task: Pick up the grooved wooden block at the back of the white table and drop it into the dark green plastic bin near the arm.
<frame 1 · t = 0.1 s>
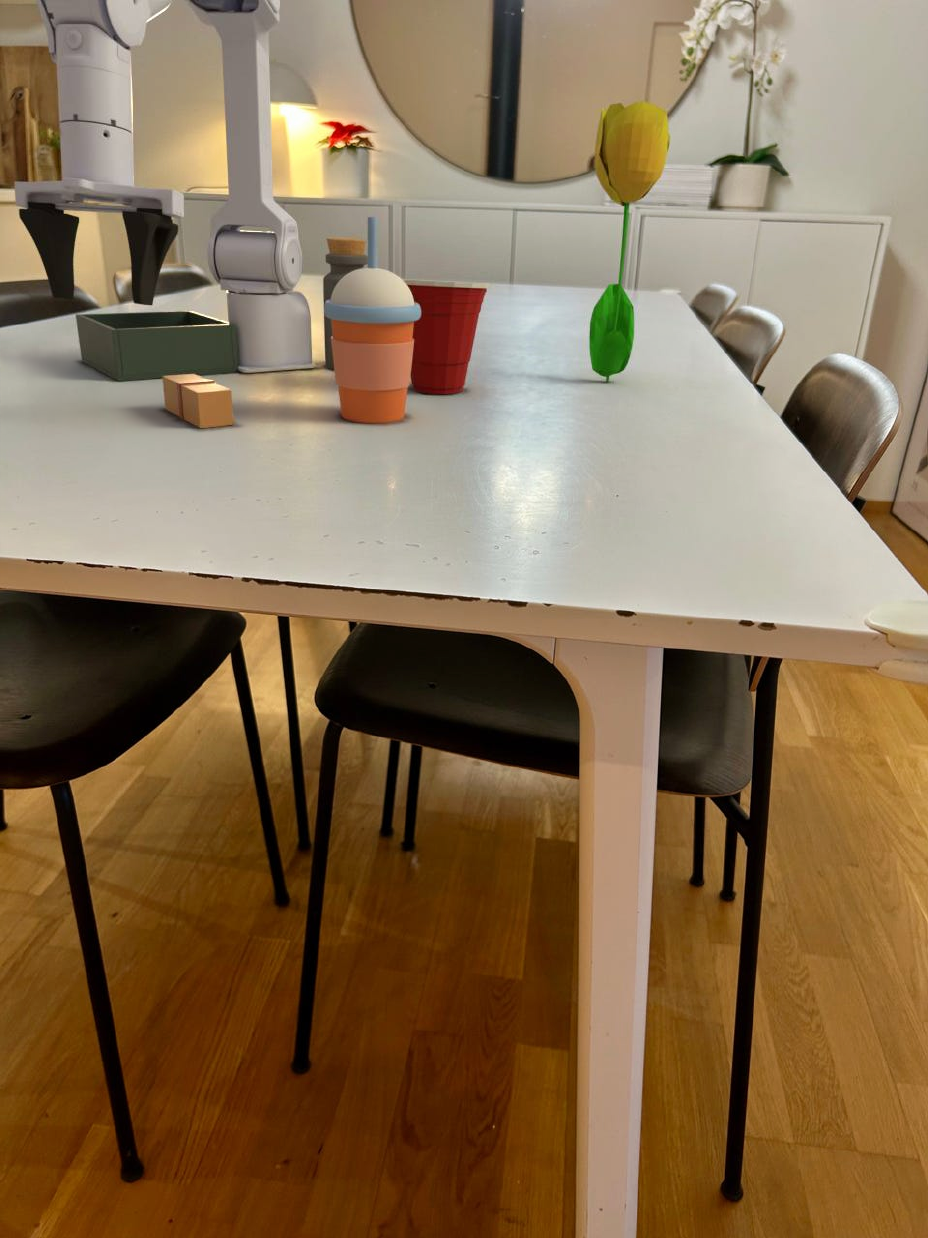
hand: (102, 301, 79), 10 cm above the table, tool pointing down, fingers open, 7 cm apart
flower: (607, 383, 111), on the table
bin: (159, 366, 109), on the table
bottle: (348, 368, 114), on the table
grooved wooden block: (198, 416, 86), on the table
cup with straw: (373, 419, 89), on the table
plastic cup: (437, 391, 103), on the table
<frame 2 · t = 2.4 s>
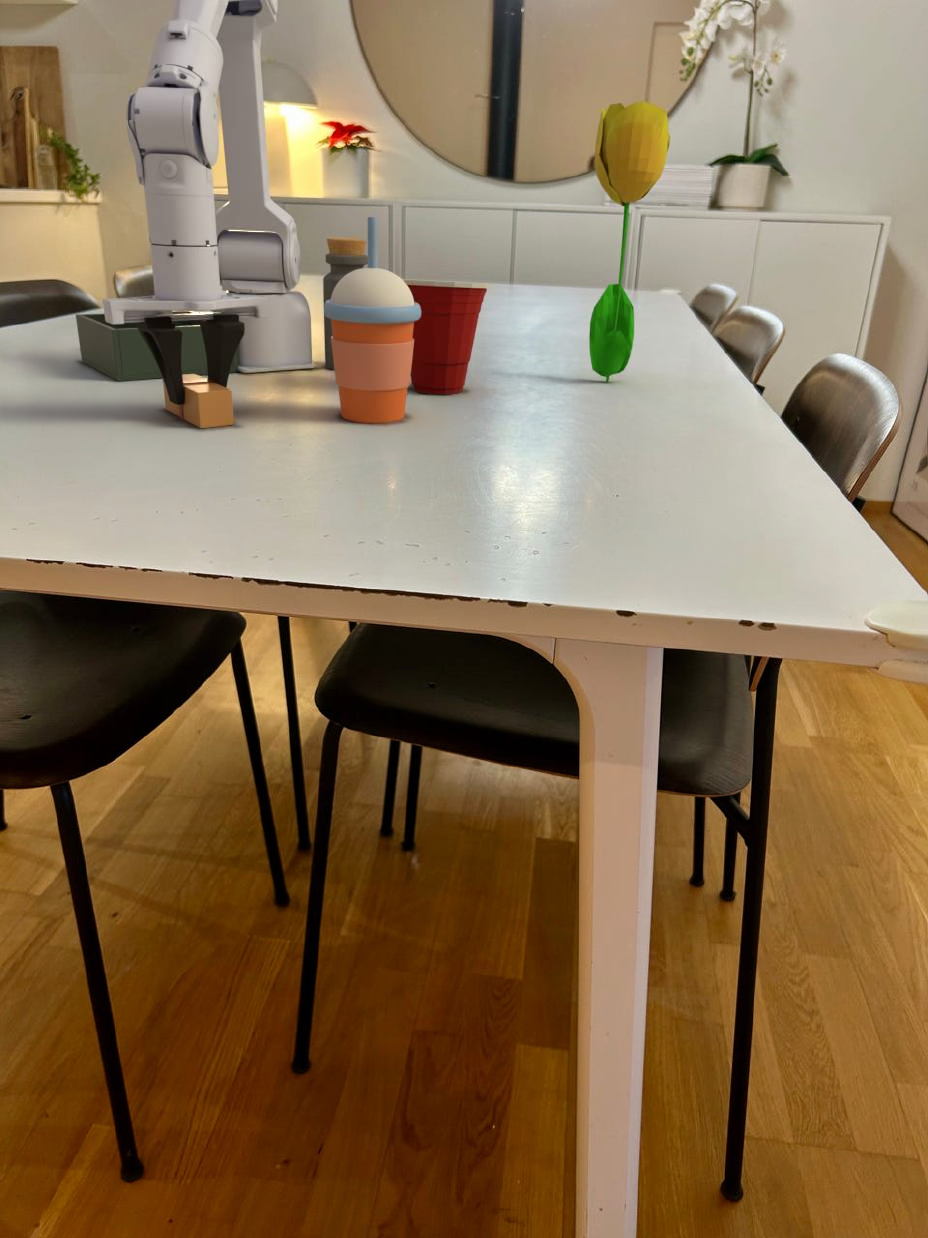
hand: (197, 400, 85), 2 cm above the table, tool pointing down, fingers closed on grooved wooden block, 3 cm apart
grooved wooden block: (198, 416, 86), on the table, touching gripper
everything else where it was.
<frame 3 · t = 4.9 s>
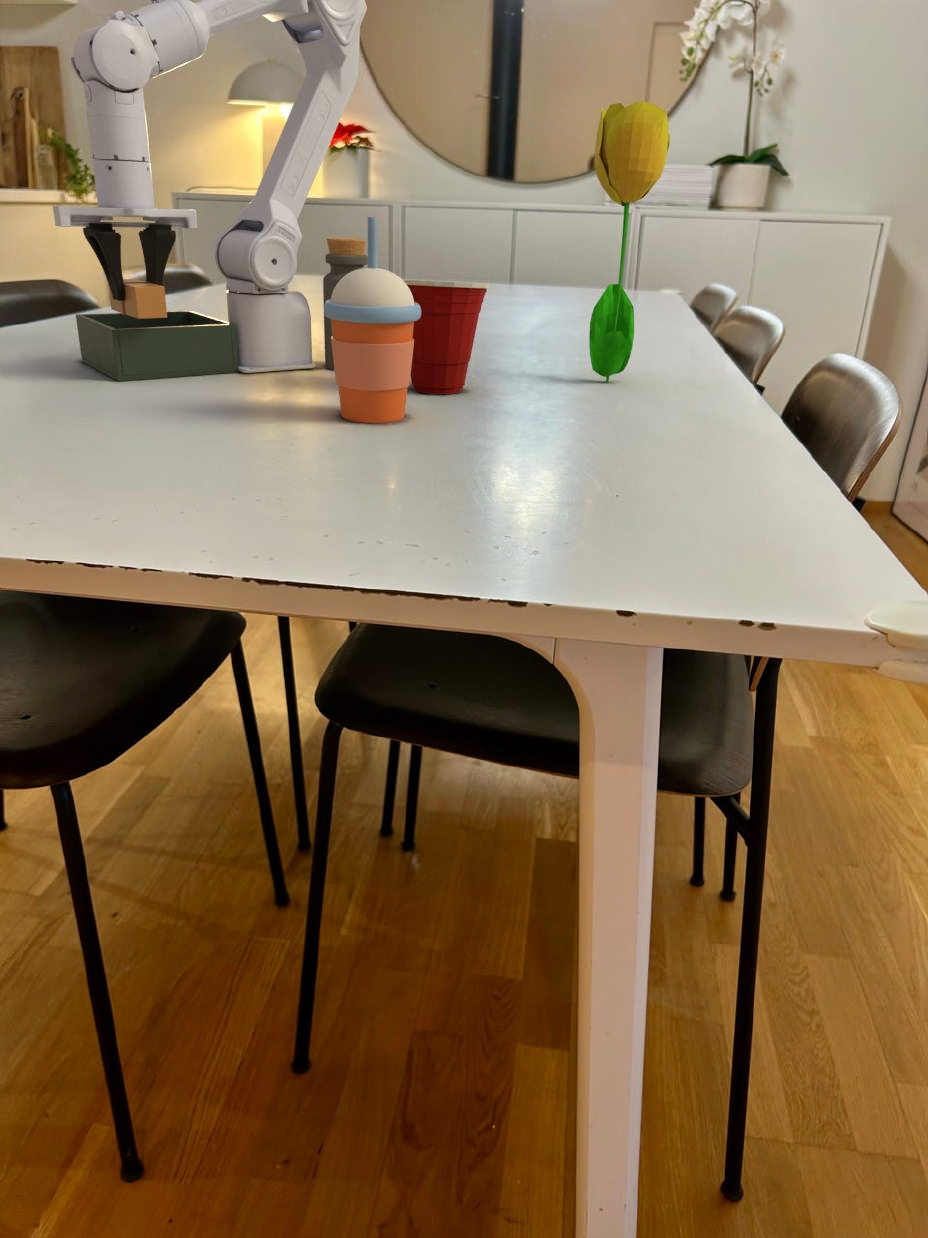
hand: (136, 299, 100), 8 cm above the table, tool pointing down, fingers closed on grooved wooden block, 3 cm apart
grooved wooden block: (138, 313, 100), point 7 cm above the table, touching gripper
everything else where it was.
when the fingers open (2 cm above the table, at t = 7.4 s): grooved wooden block stays where it is, resting on bin.
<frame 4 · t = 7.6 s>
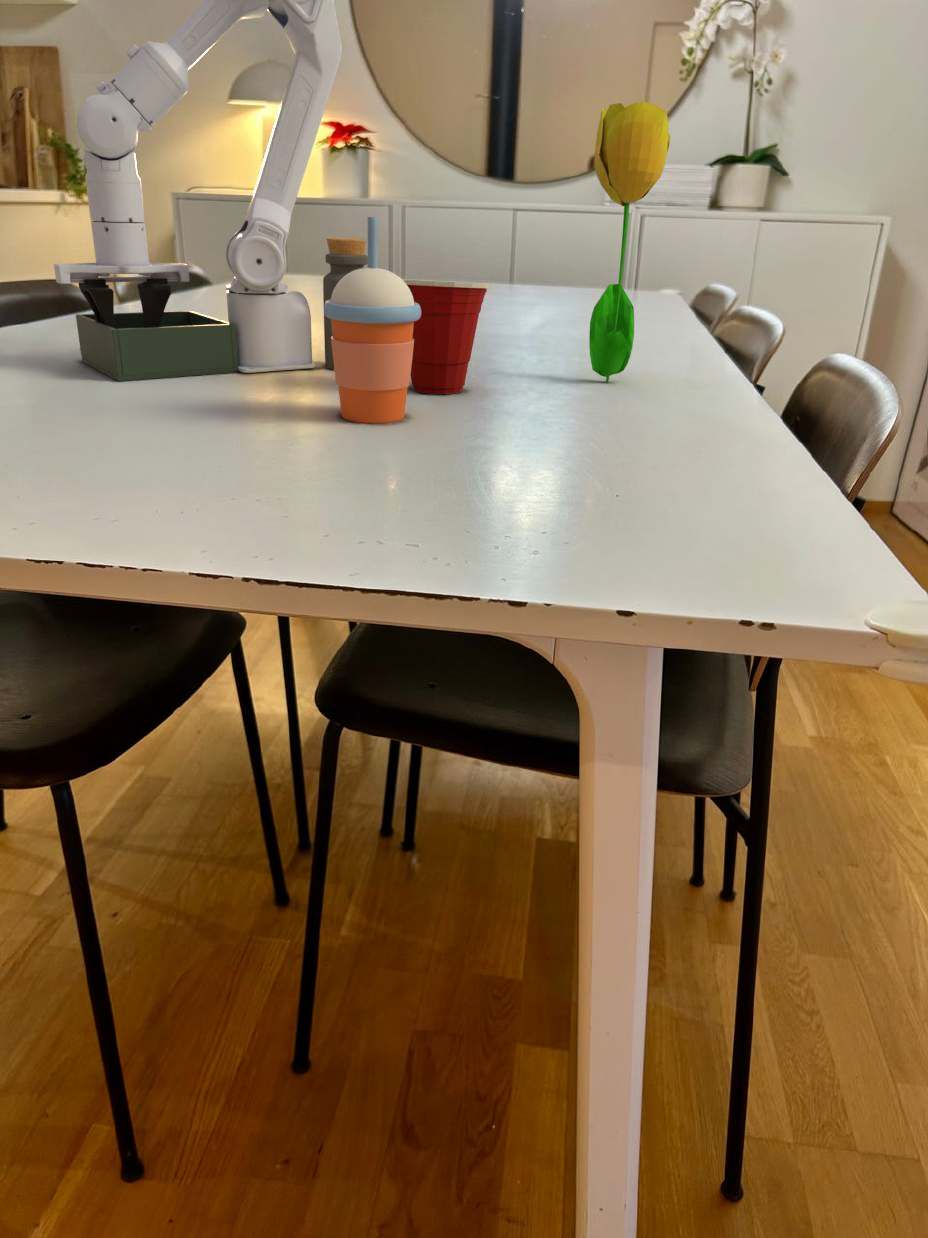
hand: (132, 347, 106), 2 cm above the table, tool pointing down, fingers open, 4 cm apart
grooved wooden block: (133, 363, 107), point 1 cm above the table, touching bin
everything else where it was.
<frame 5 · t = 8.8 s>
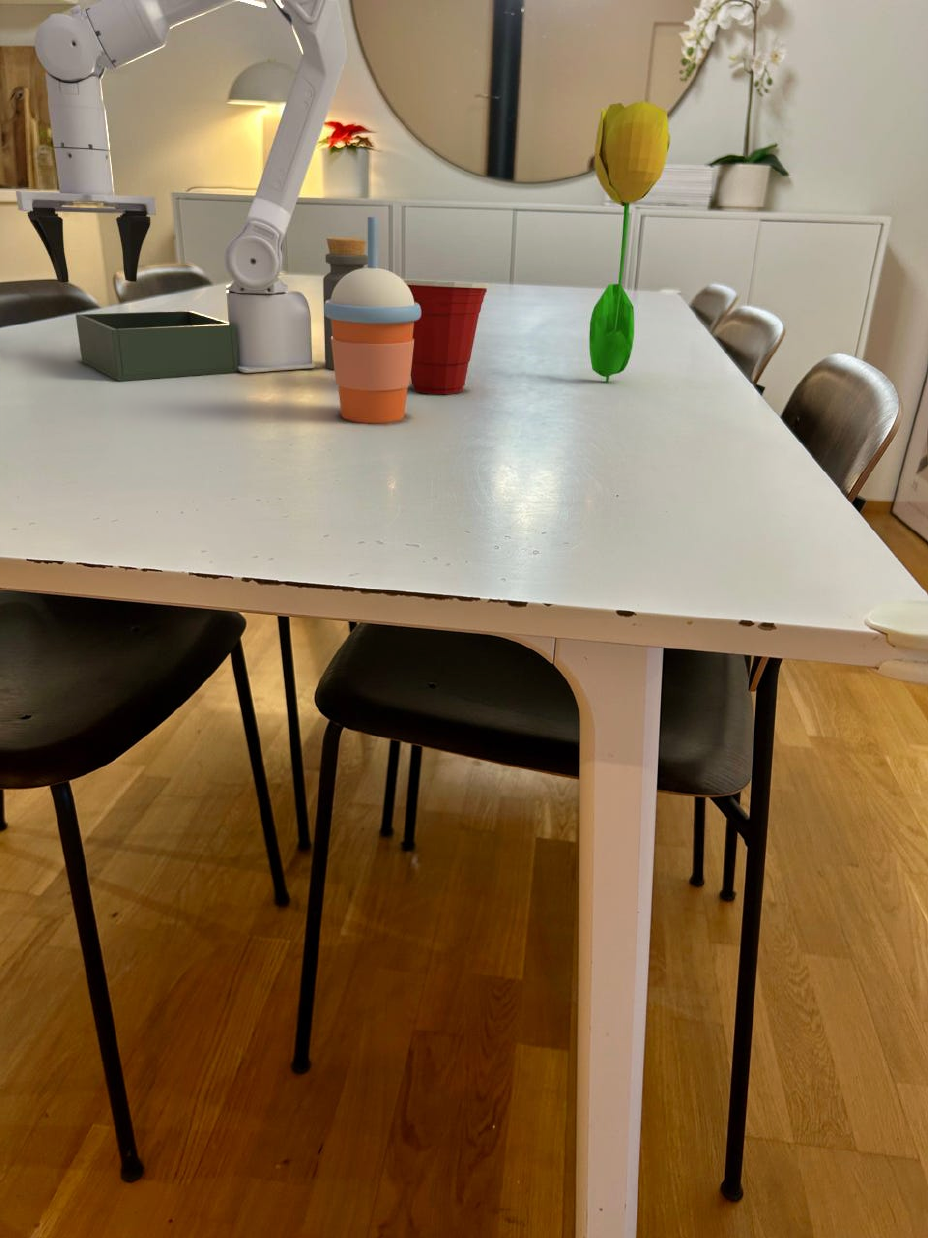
hand: (97, 281, 105), 10 cm above the table, tool pointing down, fingers open, 7 cm apart
nothing on the table moved.
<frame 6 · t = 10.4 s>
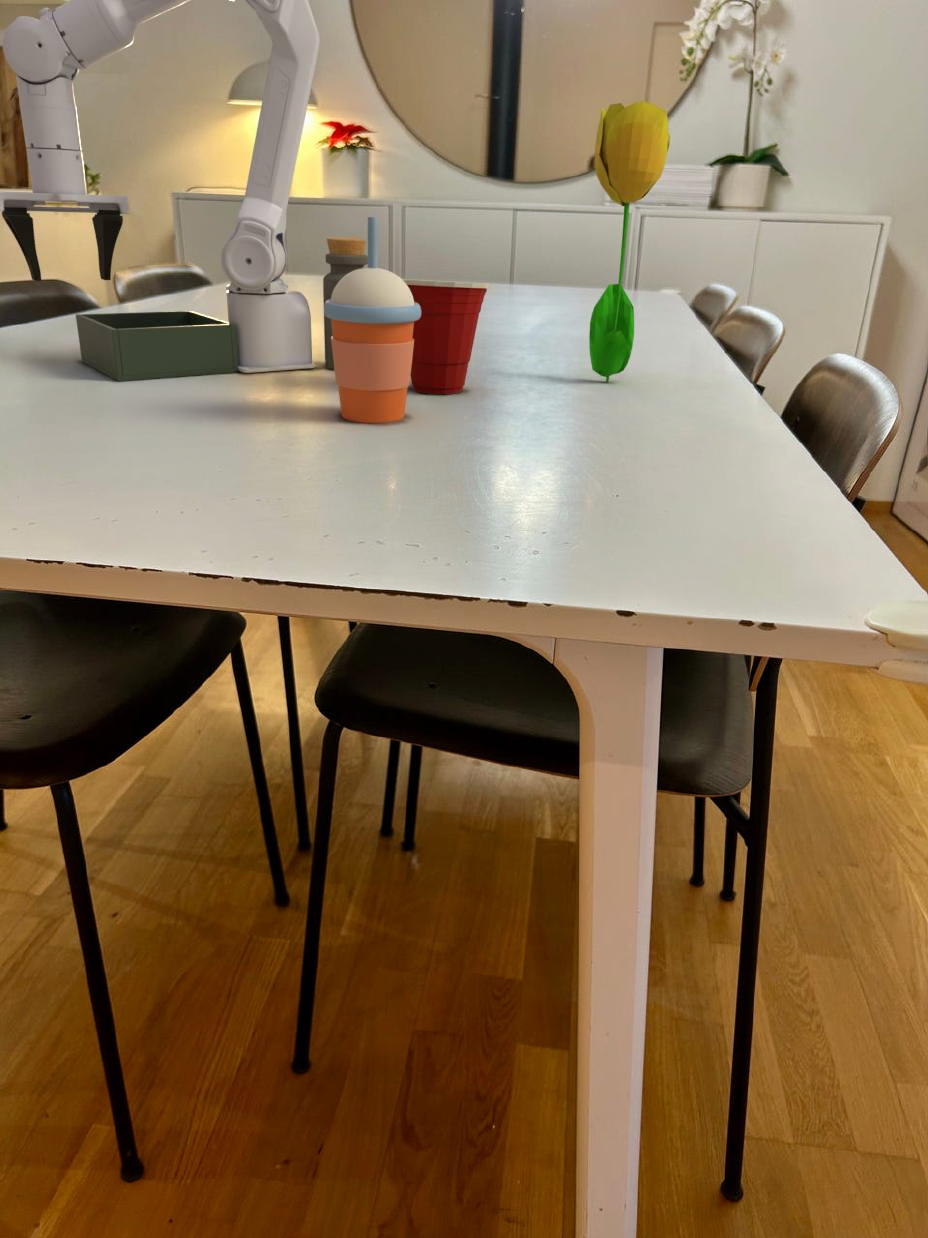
hand: (71, 279, 106), 9 cm above the table, tool pointing down, fingers open, 7 cm apart
nothing on the table moved.
at the end: grooved wooden block inside the target area in the bin (3.0 cm from its centre), point 0.6 cm above the bin's base; the gripper is holding nothing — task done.
